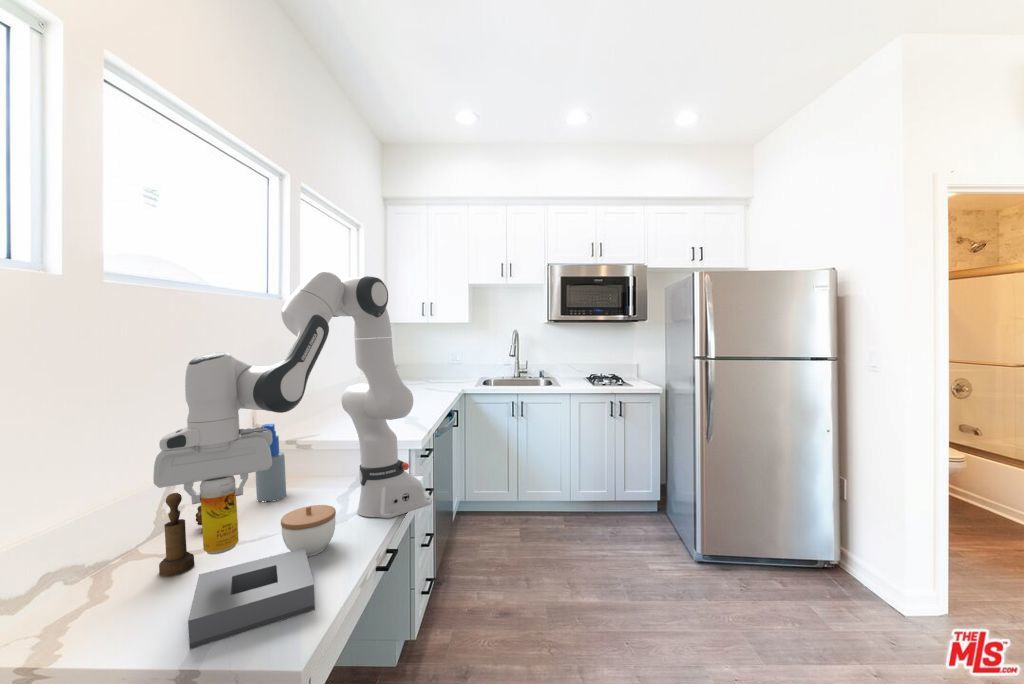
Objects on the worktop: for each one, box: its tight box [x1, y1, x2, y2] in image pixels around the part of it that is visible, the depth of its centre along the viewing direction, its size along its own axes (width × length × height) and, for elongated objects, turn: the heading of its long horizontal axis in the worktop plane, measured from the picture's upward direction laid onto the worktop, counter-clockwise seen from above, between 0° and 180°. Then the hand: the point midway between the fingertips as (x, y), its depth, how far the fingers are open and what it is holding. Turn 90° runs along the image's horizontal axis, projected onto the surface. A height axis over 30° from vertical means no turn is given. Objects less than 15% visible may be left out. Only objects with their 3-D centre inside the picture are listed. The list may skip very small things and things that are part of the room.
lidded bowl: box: [280, 504, 337, 558], centre depth 112 cm, size 13×13×11 cm
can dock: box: [187, 548, 316, 650], centre depth 90 cm, size 20×18×5 cm
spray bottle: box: [255, 423, 287, 503], centre depth 152 cm, size 9×9×25 cm
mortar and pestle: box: [158, 492, 195, 577], centre depth 105 cm, size 7×6×18 cm
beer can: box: [199, 475, 240, 556], centre depth 92 cm, size 6×6×15 cm
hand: (218, 498), depth 92 cm, fingers closed on beer can, 6 cm apart
